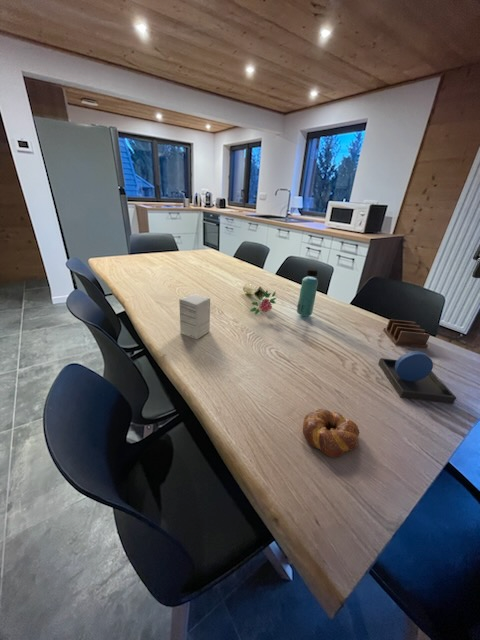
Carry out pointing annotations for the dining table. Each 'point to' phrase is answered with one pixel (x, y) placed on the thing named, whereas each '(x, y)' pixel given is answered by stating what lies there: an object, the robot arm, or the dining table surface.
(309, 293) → the beverage bottle
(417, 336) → the rack
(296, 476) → the dining table surface
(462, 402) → the dining table surface
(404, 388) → the tray
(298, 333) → the dining table surface
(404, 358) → the disc
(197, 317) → the white packaging box
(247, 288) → the flower vase
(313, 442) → the braided bread ring
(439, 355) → the dining table surface
